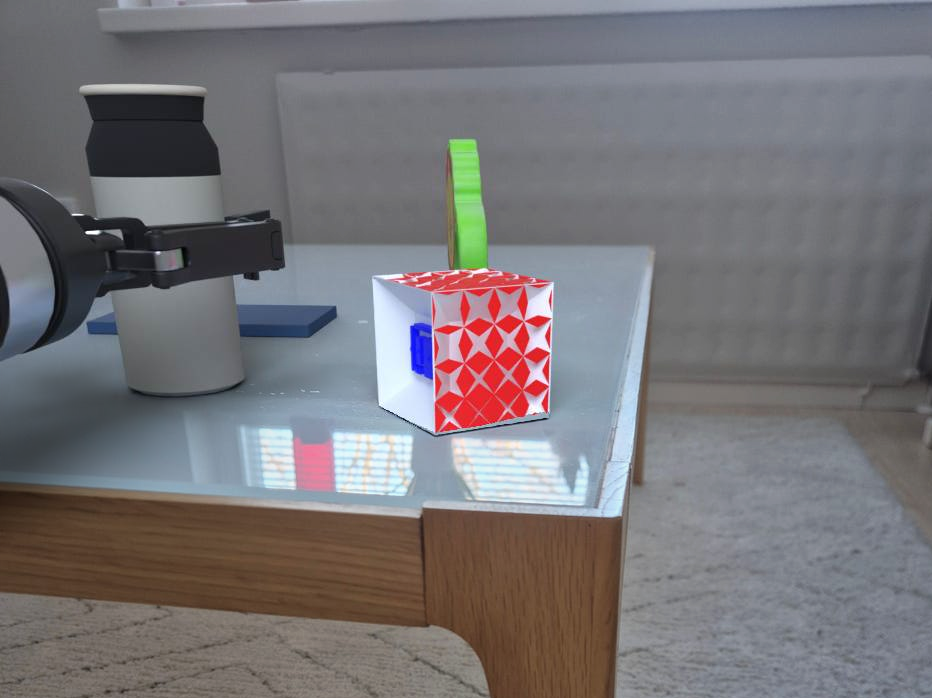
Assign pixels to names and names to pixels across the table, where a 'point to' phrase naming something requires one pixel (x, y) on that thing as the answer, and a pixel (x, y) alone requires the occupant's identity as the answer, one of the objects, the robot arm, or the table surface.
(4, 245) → the robot arm
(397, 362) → the red patterned cube box
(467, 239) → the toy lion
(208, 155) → the travel mug
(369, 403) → the table surface
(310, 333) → the blue mat
